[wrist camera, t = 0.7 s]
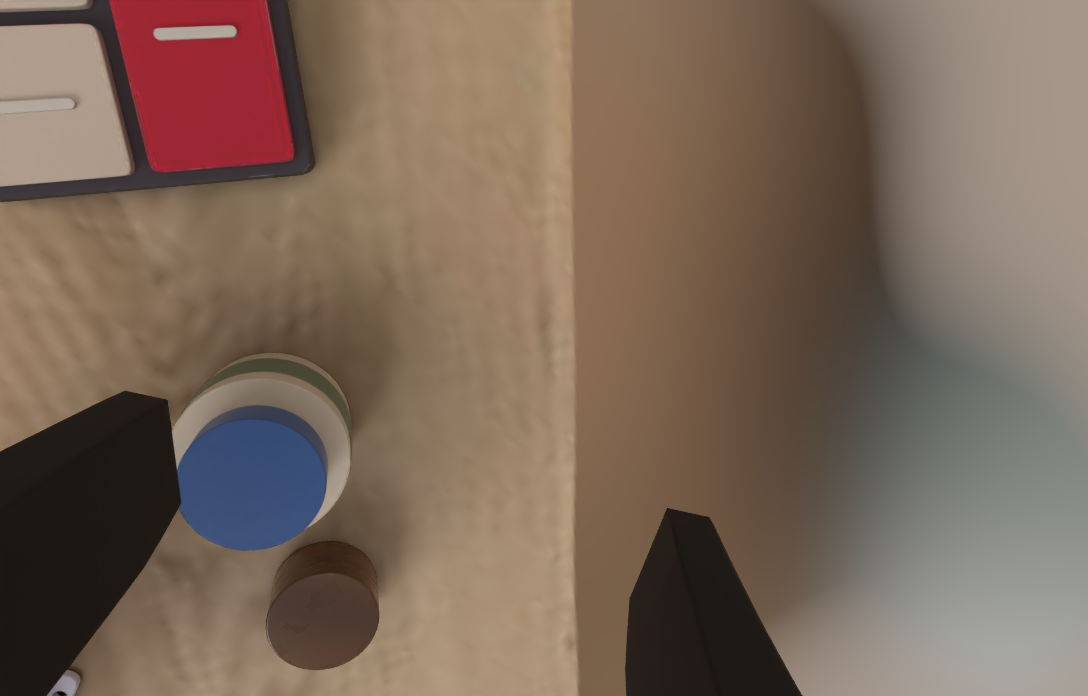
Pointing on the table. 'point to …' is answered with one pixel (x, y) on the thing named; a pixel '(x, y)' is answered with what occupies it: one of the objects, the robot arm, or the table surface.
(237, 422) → the bottle
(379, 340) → the table surface
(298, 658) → the brown cylinder
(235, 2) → the calculator
